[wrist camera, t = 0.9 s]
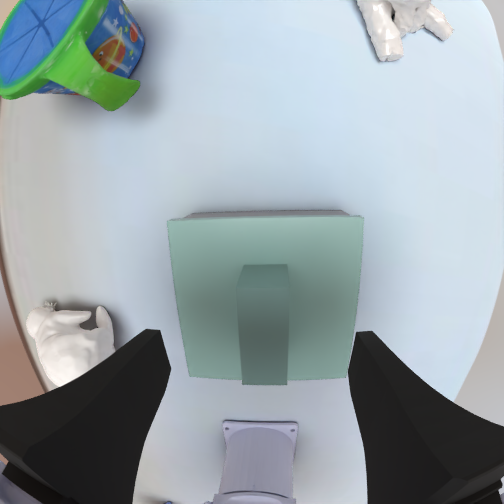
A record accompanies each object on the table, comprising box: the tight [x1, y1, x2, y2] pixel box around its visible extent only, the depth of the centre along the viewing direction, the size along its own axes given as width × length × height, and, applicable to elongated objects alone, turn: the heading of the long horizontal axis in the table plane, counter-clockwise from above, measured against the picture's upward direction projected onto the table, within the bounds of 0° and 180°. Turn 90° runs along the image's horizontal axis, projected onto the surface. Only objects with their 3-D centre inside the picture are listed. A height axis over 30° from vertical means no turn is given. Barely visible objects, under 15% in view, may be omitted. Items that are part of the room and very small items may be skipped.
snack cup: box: [0, 0, 145, 111], centre depth 13 cm, size 16×10×10 cm
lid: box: [167, 215, 364, 385], centre depth 16 cm, size 11×11×5 cm
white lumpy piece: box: [26, 302, 116, 387], centre depth 21 cm, size 6×8×12 cm
